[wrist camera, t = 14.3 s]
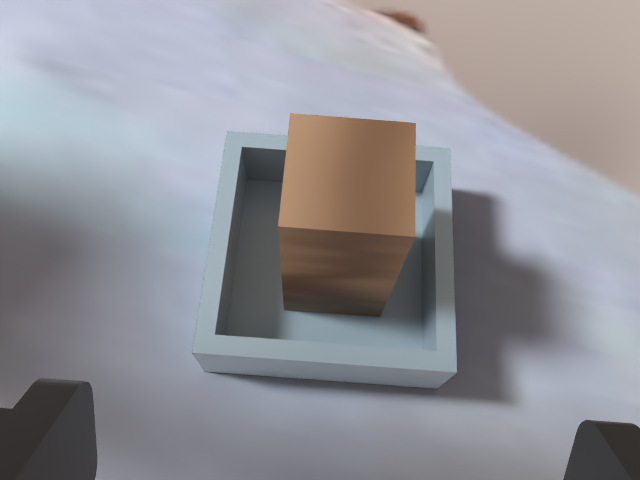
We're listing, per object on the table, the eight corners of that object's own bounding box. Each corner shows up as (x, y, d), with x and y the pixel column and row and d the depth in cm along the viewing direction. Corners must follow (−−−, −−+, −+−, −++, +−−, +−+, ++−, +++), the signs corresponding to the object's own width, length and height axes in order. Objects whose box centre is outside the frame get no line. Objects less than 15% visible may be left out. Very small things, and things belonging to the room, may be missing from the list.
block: (283, 309, 27) (278, 226, 19) (292, 223, 29) (290, 113, 21) (380, 317, 27) (415, 237, 19) (382, 230, 29) (415, 123, 21)
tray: (204, 371, 27) (191, 352, 23) (234, 170, 31) (226, 131, 28) (437, 388, 27) (456, 372, 23) (434, 185, 31) (450, 148, 28)
